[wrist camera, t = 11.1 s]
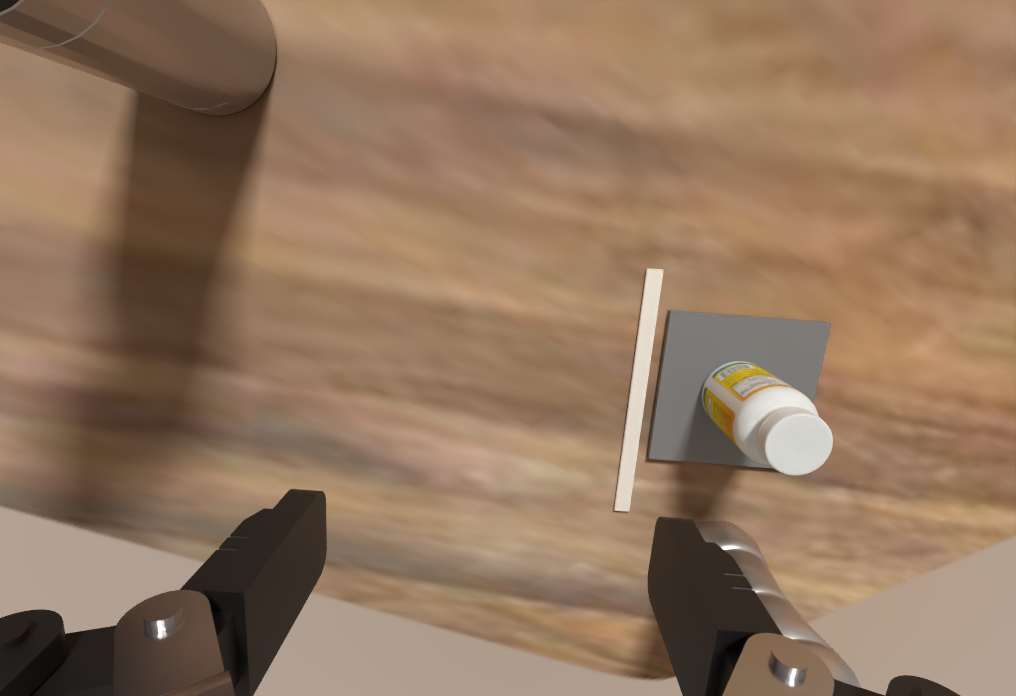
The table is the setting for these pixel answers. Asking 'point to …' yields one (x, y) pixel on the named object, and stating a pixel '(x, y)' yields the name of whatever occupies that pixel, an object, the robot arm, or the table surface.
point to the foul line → (638, 387)
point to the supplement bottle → (767, 418)
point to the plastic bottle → (773, 594)
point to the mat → (705, 347)
